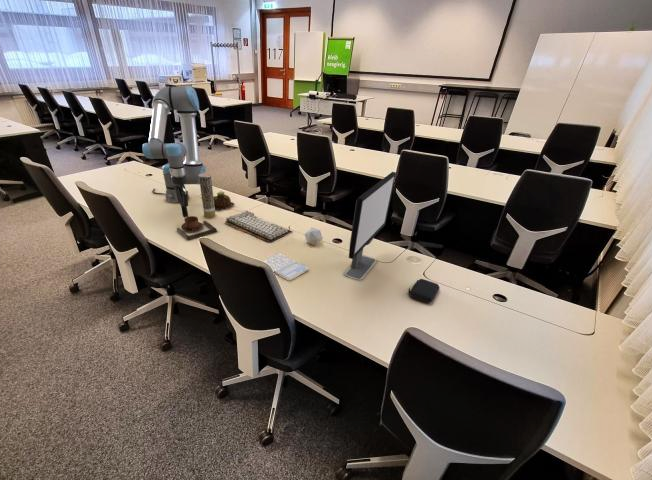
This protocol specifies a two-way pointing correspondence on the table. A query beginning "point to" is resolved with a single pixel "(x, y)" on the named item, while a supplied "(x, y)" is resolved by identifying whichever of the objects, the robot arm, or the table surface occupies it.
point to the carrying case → (424, 290)
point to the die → (313, 236)
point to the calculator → (285, 266)
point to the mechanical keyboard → (256, 226)
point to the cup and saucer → (191, 224)
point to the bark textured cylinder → (207, 195)
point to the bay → (212, 230)
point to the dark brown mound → (222, 201)
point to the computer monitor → (368, 224)
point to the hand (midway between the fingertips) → (185, 216)
